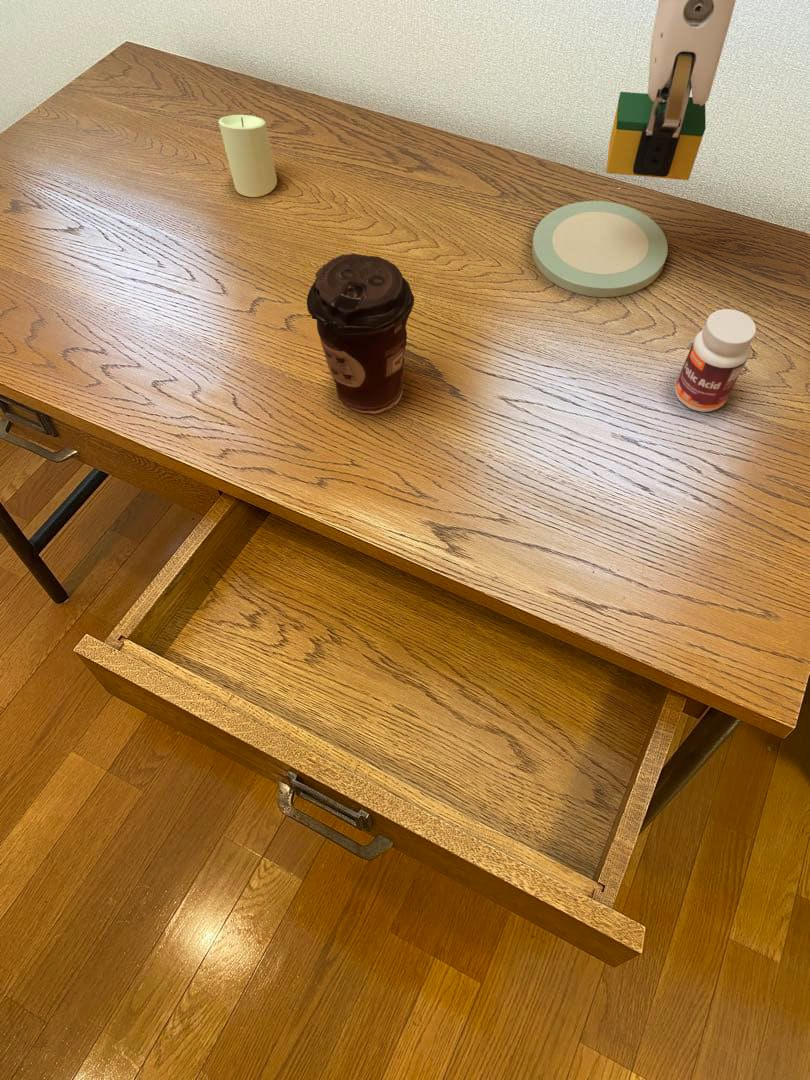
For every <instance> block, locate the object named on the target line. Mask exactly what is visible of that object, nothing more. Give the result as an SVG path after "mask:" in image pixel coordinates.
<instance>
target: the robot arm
mask: <svg viewBox="0 0 810 1080" xmlns="http://www.w3.org/2000/svg"><path fill="white" fill-rule="evenodd" d="M736 1H737V0H658V3H657V8H656V13H655V17H654V24H653V30H652V36H651V42H650V50H649V51H650V52H649V63H648V81H647V84H648V86H647V94H648V96H649V97H650V99H651V100H652V101H653V102H652V106H651V111H650V115H649V119H648V124H647V128H643V130H642V134H641V138H640V142H639V146H638V150H637V154H636V158H635V162H634V166H633V173H634V174H638V175H649V176H660V177H665V176H667V175H668V174H669V171H670V168H671V164H672V161H673V158H674V154H675V151H676V148H677V144H678V141H679V138H680V130H681V126H682V122H683V119H684V115H685V111H686V107H687V103H688V99H689V97H692V98H693V104H698V105H699V106H702V105H704V104H705V105H706V103H707V102H708V101H709V99H710V95H711V91H712V87H713V84H714V80H715V78H716V73H717V70H718V67H719V63H720V59H721V57H722V52H723V50H724V46H725V42H726V38H727V34H728V31H729V29H730V28H729V27H730V24H731V20H732V16H733V13H734V9H735V6H736V5H735V4H736ZM660 104H665V105H666V107H665V110H664V112H663V113H659V115H658V117H657V114H658V109H659V105H660Z"/></svg>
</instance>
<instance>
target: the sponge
mask: <svg viewBox="0 0 810 1080" xmlns="http://www.w3.org/2000/svg"><path fill="white" fill-rule="evenodd" d="M652 102H653V101H652V100H651V99H650V97H649V96H648V93H642V92H631V91H620V92H619V97H618V101H617V105H616V111H615V115H614V119H613V123H612V124H613V125H612V128H611V133H610V138H609V143H608V151H607V160H606V161H607V162H606V172H605V173H606V174H611V175H612V174H613V175H614V174H615V175H624V176H636V177H647V178H657V179H668V180H669V179H670V180H679V181H689V180H690V177H691V174H692V171H693V167H694V165H695V161H696V160H697V155H698V152H699V150H700V146H701V143H702V141H703V137H704V134H705V130H706V127H707V126H706V125H707V123H706V120H707V119H706V103H705V104H704V105H702V106H699V105H698V104H693V98H692V96H689V99H688V103H687V107H686V111H685V115H684V119H683V122H682V126H681V130H680V138H679V141H678V144H677V148H676V151H675V154H674V158H673V161H672V164H671V168H670V171H669V174H668V175H667V176H665V177H660V176H649V175H638V174H634V173H633V166H634V162H635V158H636V154H637V150H638V146H639V142H640V138H641V134H642V130H643V128H647V124H648V119H649V115H650V111H651V106H652ZM665 107H666V105H665V104H660V105H659V109H658V114H657V117H658V115H659V113H663V112H664V110H665Z"/></svg>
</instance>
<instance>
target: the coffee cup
mask: <svg viewBox="0 0 810 1080" xmlns="http://www.w3.org/2000/svg"><path fill="white" fill-rule="evenodd" d="M314 277H315V279H314V282H313V283H312V285H311V286H310V289H309V291H308V293H307V297H306V308H307V309H306V310H307V312H308V314H309V315H310V317H311V318H312V320H316V331H317V334H318V336H319V339H320V344H321V347H322V350H323V354H324V357H325V360H326V364H327V367H328V370H329V373H330V375H331V377H332V379H333V382H334V383H335V389H336V390H335V391H336V394H337V397H338V399H339V401H340V402H341V403H342V404H343V405H345V406H346V407H348V408H349V409H351V410H353V411H355V412H359V413H362V414H375V415H378V414H381V413H383V412H384V411H387V410H390V409H392V408H393V407H394V406H395V405H398V403H399V401H400V400H401V399H402V397H403V379H402V377H403V373H404V365H405V355H404V352H405V350H406V348H407V340H408V332H407V322H408V320H409V316H410V315H411V313H412V311H413V308H414V305H415V295H414V294H413V292H412V289H411V286H410V283H409V282H408V281H407V280H406V278H405V277H404V276H403V273H402V272H401V270H400V269H399V268H398V267H397V265H395V264H394V263H392V262H390V261H389V260H387V259H384V258H382V257H380V256H377V255H376V256H375V255H364V254H358V253H350V254H349V253H347V254H341V255H339V256H337V257H333V258H332V259H330V260H329V261H328V262H327V263H325V264H323V265H322V266H321V267H320V268H319V269H318V270H317V271H316V273H315V276H314Z"/></svg>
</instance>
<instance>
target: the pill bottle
mask: <svg viewBox="0 0 810 1080" xmlns="http://www.w3.org/2000/svg"><path fill="white" fill-rule="evenodd" d="M756 333H757V326H756V323H755V322H754V320H753V319H752V317H750V316H749V315H748V314H746V313H744V312H743V311H740V310H736V309H731V308H722V309H718V310H716V311H713V312H712V313H711V314H710V315H709V316H708V317H707V319H706V321H705V324H704V325H703V327H702V329H701V330H700V331H699V332H698V333H697V334H696V335H695V337H694V339H693V340H692V344H691V346H690V349H689V351H688V353H687V356H686V358H685V361H684V363H683V366H682V368H681V370H680V373H679V375H678V378H677V380H676V383H675V384H674V392H675V396H676V398H677V399H678V401H680V403H681V404H683V405H684V406H685V407H687V408H689V409H690V410H693V411H696V412H702V413H706V412H707V413H708V412H712V411H716V410H718V409H720V408H721V407H723V406H724V404H726V402H727V400H728V398H729V396H730V394H732V390H733V388H734V386H735V385H736V382H737V381H738V379H739V378H740V375H741V374H742V371H743V369H744V367H745V365H746V363H747V362H748V360H749V358H750V355H751V349H752V348H751V344H752V342H753V340H754V338H755V336H756Z"/></svg>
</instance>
